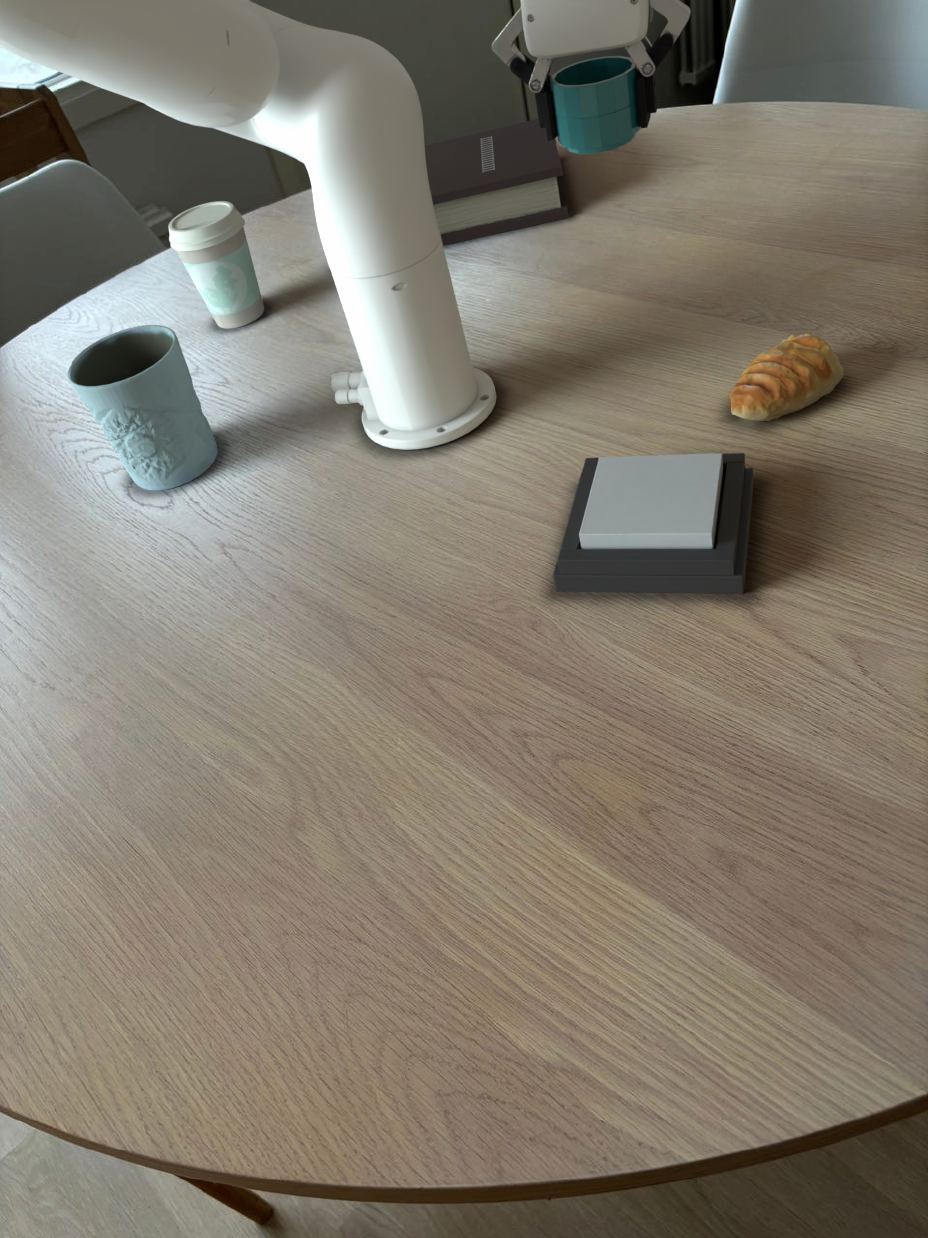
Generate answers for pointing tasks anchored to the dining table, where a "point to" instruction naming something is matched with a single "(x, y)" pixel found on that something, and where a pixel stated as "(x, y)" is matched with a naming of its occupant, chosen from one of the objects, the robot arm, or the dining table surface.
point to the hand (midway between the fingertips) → (599, 127)
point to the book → (495, 182)
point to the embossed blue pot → (146, 405)
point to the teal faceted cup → (595, 104)
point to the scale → (663, 566)
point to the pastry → (786, 379)
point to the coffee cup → (218, 261)
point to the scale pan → (653, 502)
